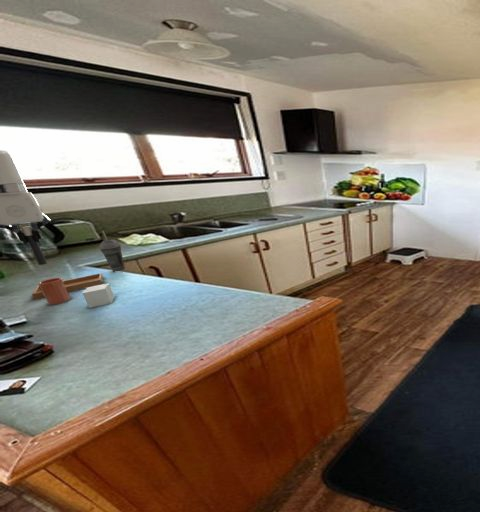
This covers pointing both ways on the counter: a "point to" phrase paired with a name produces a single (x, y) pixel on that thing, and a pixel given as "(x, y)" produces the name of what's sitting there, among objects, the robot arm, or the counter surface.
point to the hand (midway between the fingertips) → (32, 241)
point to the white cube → (98, 295)
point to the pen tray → (75, 284)
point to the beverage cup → (112, 254)
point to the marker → (34, 245)
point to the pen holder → (54, 291)
